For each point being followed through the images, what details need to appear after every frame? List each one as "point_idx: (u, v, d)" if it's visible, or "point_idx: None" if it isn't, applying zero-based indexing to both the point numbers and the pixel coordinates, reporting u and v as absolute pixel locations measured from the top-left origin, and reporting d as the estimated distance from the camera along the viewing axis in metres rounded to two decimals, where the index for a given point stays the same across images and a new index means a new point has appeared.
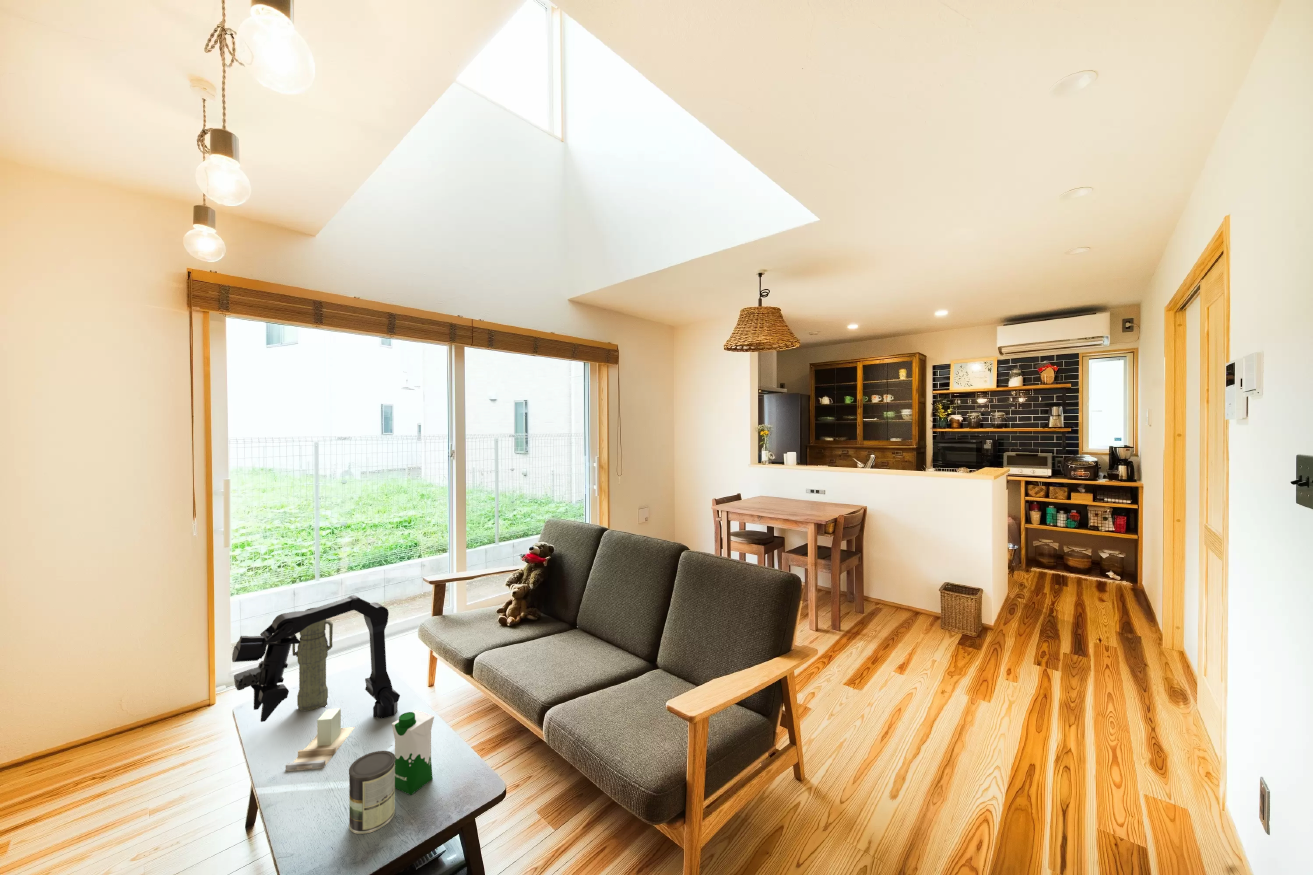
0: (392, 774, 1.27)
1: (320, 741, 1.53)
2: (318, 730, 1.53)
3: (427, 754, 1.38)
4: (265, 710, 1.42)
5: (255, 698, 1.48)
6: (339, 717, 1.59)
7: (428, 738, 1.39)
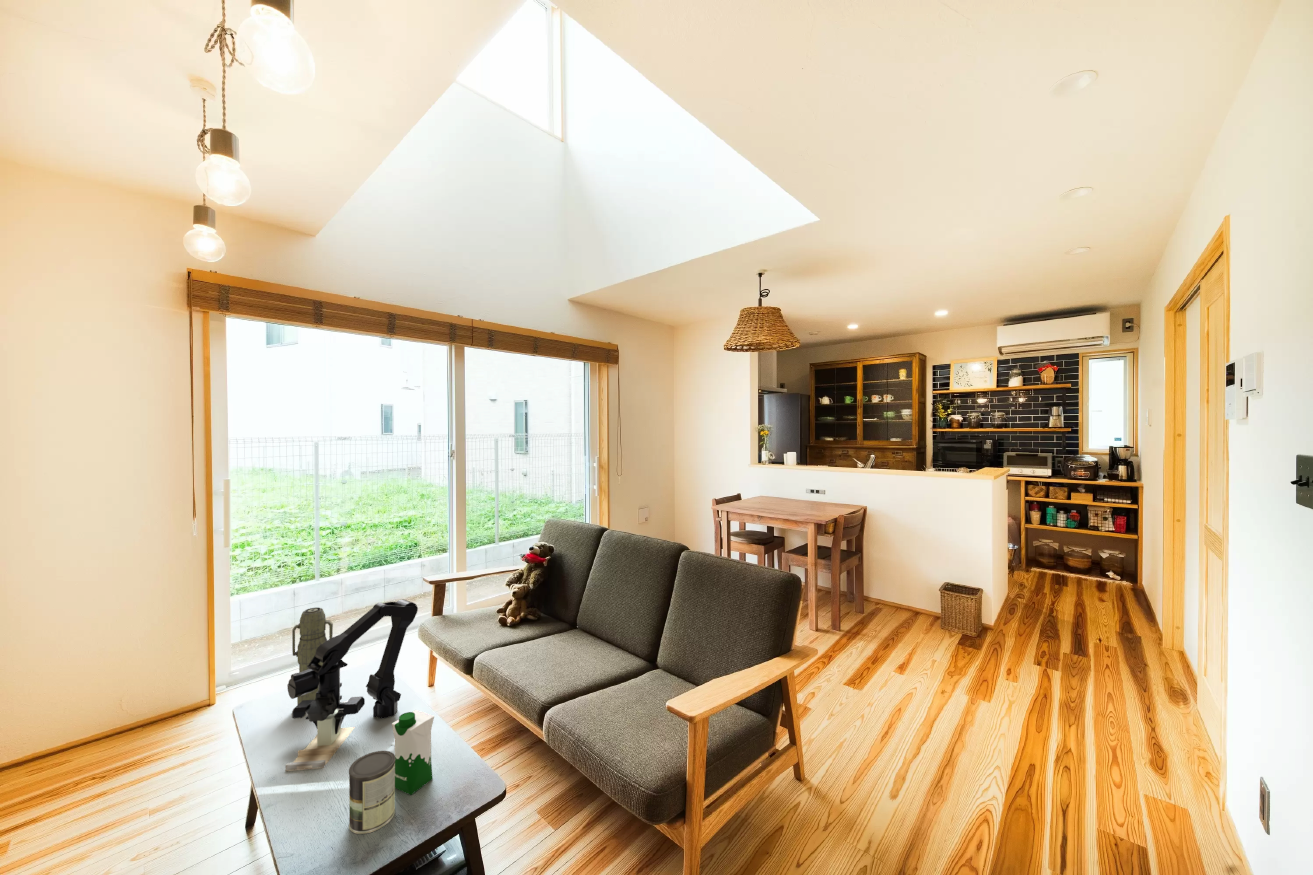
0: (392, 774, 1.27)
1: (320, 741, 1.53)
2: (318, 730, 1.53)
3: (427, 754, 1.38)
4: (339, 723, 1.57)
5: None
6: None
7: (428, 738, 1.39)
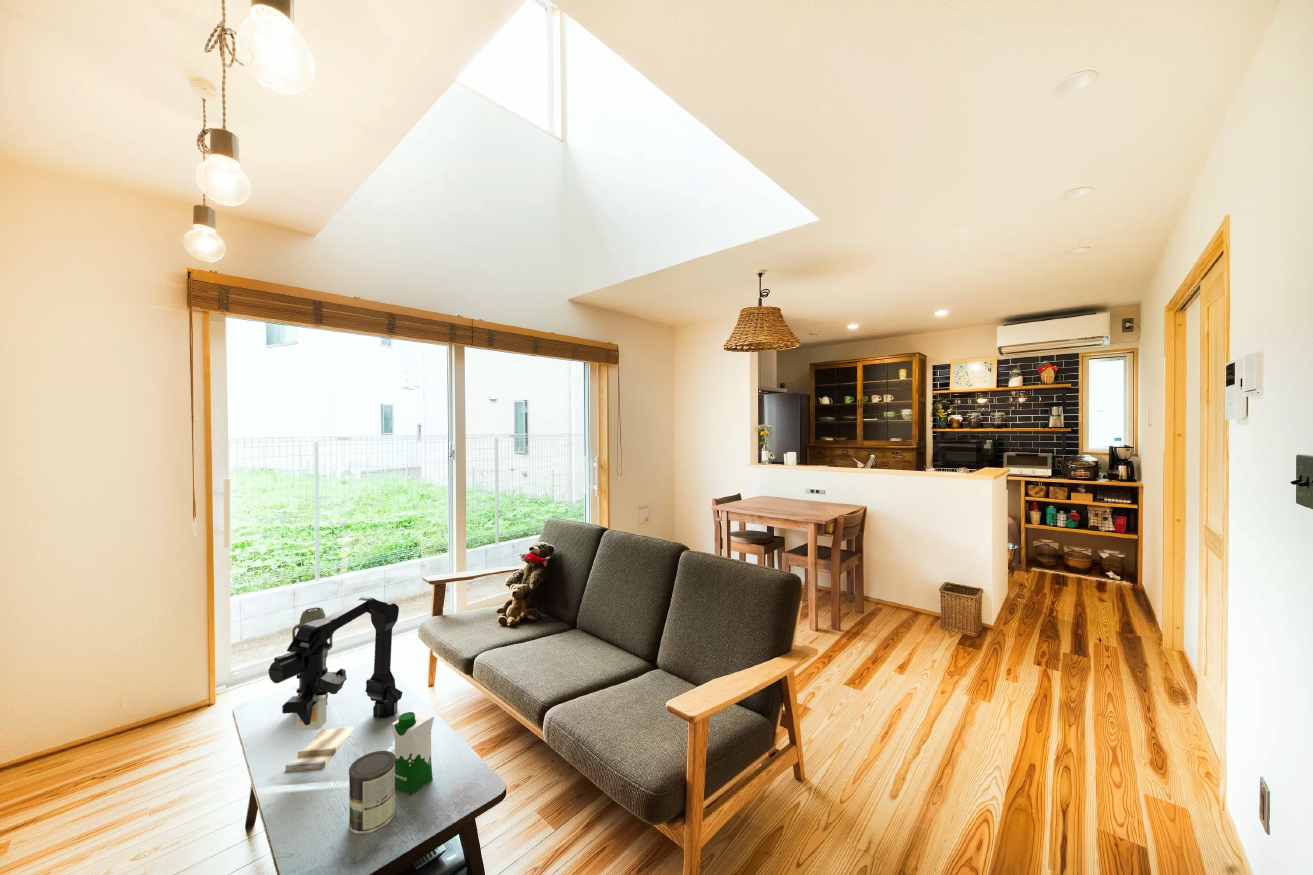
0: (392, 774, 1.27)
1: (320, 723, 1.46)
2: (319, 712, 1.45)
3: (427, 754, 1.38)
4: None
5: None
6: None
7: (428, 738, 1.39)
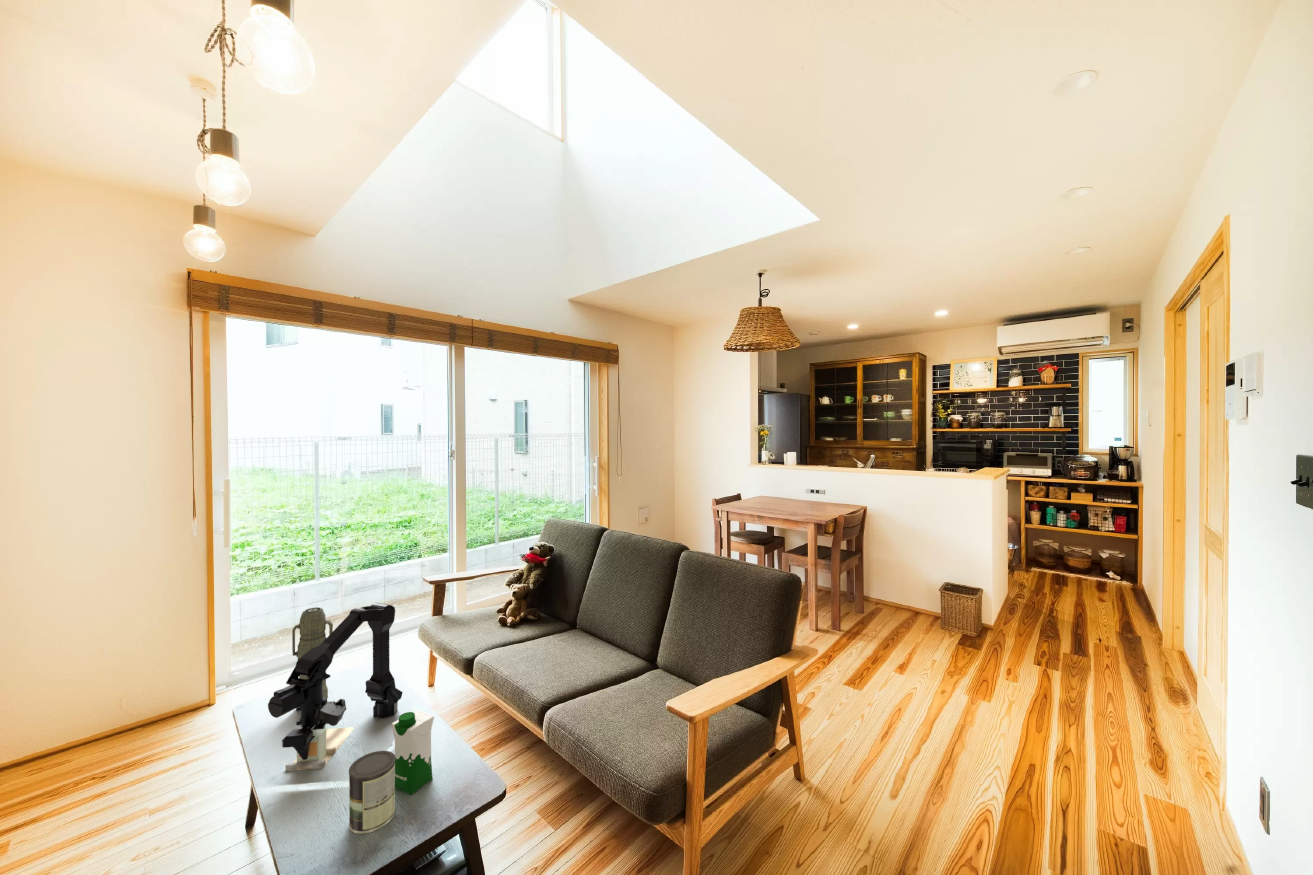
0: (392, 774, 1.27)
1: (320, 757, 1.46)
2: (319, 747, 1.45)
3: (427, 754, 1.38)
4: None
5: None
6: None
7: (428, 738, 1.39)
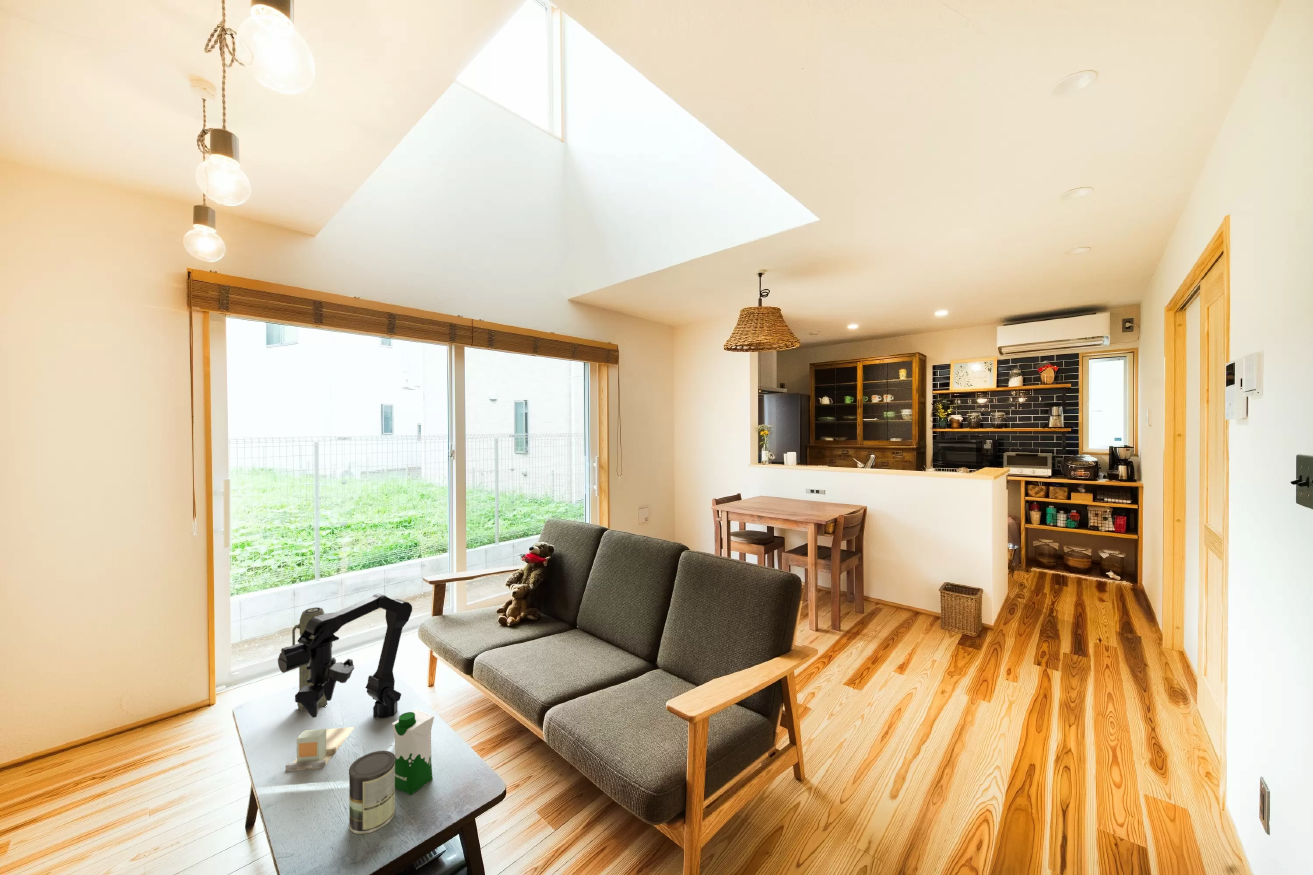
0: (392, 774, 1.27)
1: (320, 757, 1.46)
2: (319, 747, 1.45)
3: (427, 754, 1.38)
4: None
5: None
6: None
7: (428, 738, 1.39)
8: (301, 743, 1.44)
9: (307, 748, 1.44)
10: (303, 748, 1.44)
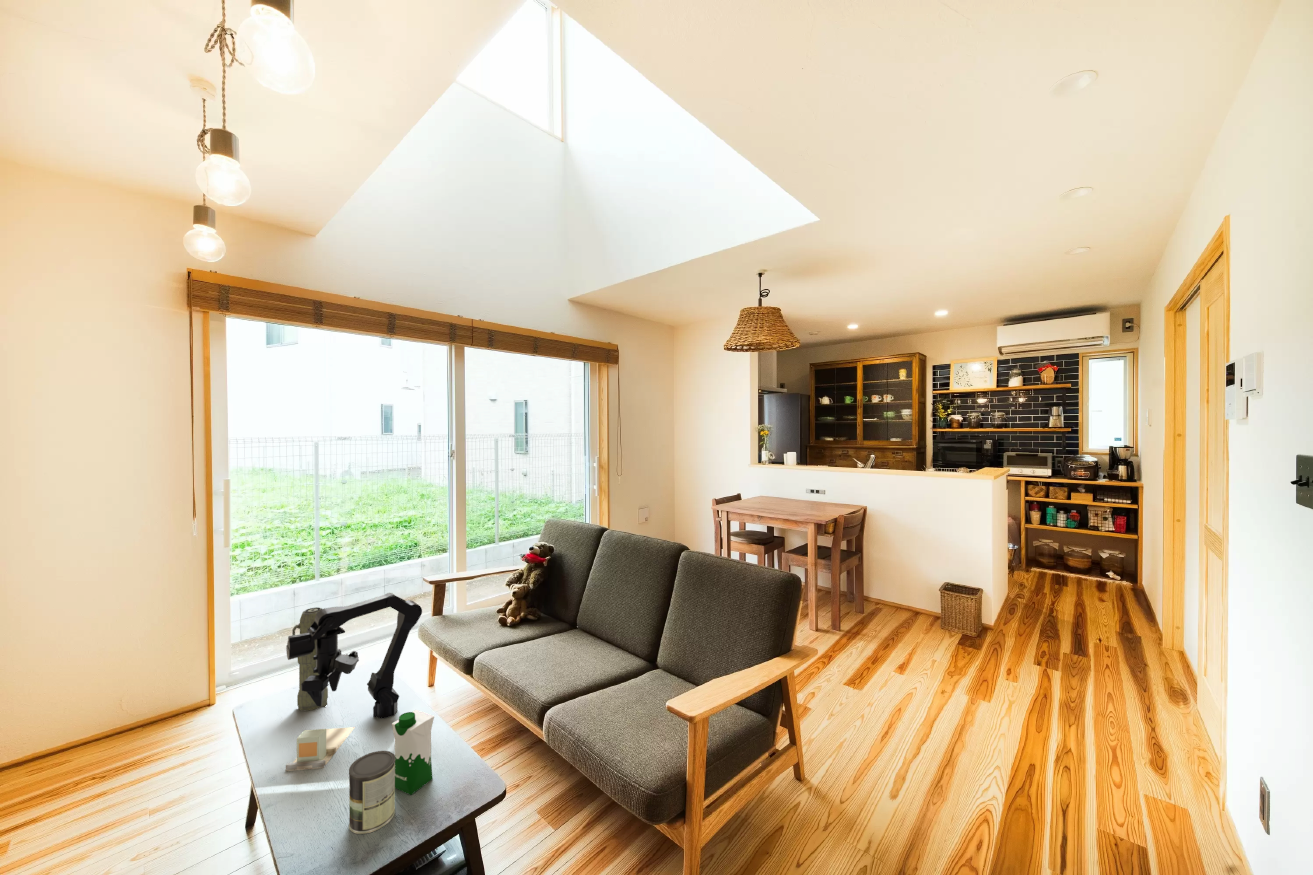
0: (392, 774, 1.27)
1: (320, 757, 1.46)
2: (319, 747, 1.45)
3: (427, 754, 1.38)
4: None
5: None
6: None
7: (428, 738, 1.39)
8: (301, 743, 1.44)
9: (307, 748, 1.44)
10: (303, 748, 1.44)
